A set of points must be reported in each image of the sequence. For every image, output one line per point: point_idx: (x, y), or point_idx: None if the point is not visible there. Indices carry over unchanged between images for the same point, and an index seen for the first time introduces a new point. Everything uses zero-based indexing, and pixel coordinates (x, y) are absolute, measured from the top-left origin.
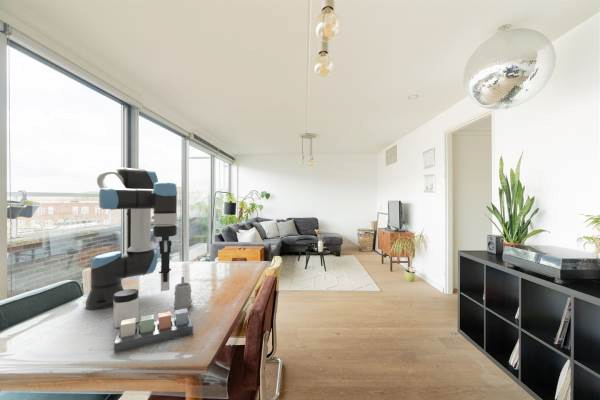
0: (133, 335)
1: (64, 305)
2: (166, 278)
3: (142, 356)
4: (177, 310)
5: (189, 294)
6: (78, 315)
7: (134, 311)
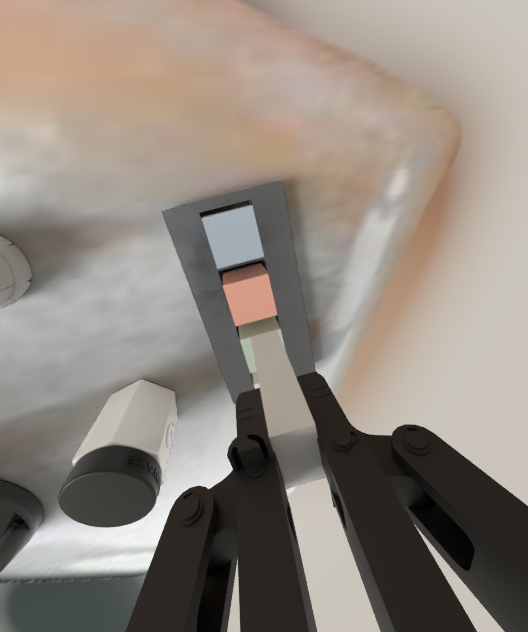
0: (289, 354)
1: (15, 572)
2: (332, 395)
3: (349, 302)
4: (221, 258)
5: None
6: None
7: (146, 411)
